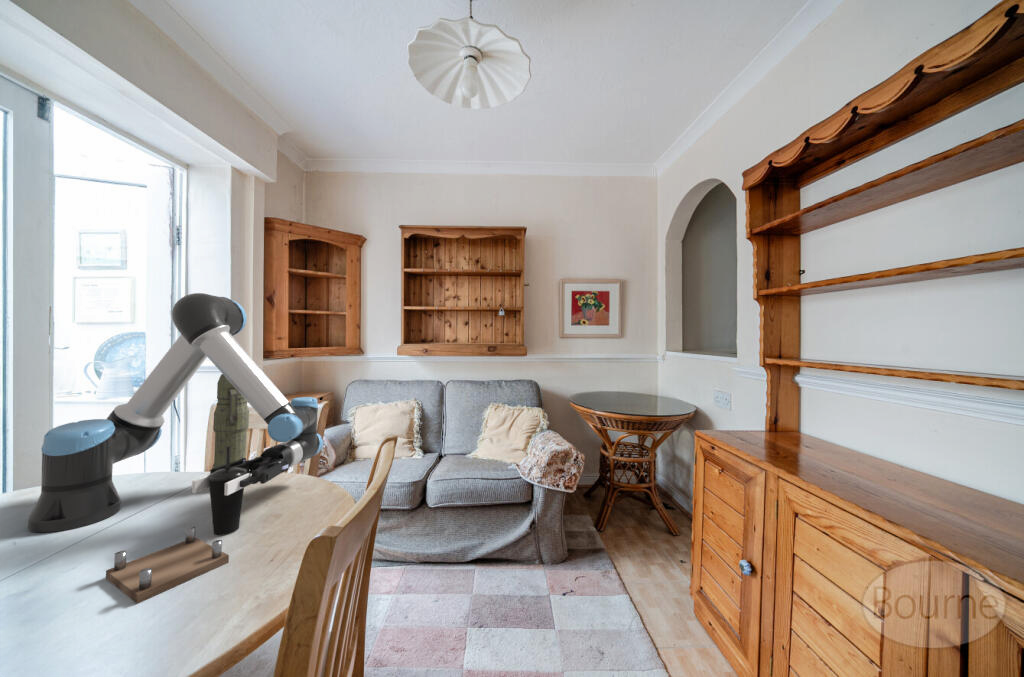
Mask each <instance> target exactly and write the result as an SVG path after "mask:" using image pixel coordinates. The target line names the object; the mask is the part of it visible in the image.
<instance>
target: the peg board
mask: <svg viewBox="0 0 1024 677" xmlns="http://www.w3.org/2000/svg"><path fill="white" fill-rule="evenodd" d="M127 553H128V552H127V550H120V551H117V552H116V553H114V558H113V559H114V564H113V567H112V568H108V569H106V570H105V579H106V580H107V581H109V582H110V583H111V584H112V585H113V586H115V587H116V588H117V589H118V590H120V591H121V592H122V593H123V594H125V595H126V596H127V597H128V598H130V600H132V602H135V603H136V604H137V605H138V604H140V603H142V602H145V601H146V600H147V601H148V599H150V598H153V597H155V596H158V595H160V594H162V593H163V592H166V591H168V590H170V589H173V588H176V587H177V586H180V585H182V584H184V583H187V582H188V581H191V580H193V579H195V578H197V577H199V576H202V575H204V574H206V573H208V572H210V571H213V570H215V569H217V568H219V567H222V566H223V565H226V564H228V563H229V559H230V555H229V554H228V553H226V552H224V551H223V539H216V540H214V541H212V542H211V545H210V544H208V543H207V542H205V541H203V540H201V539H199V538H198V537H196V526H194V525H193V526H188V527H187V528H185V539H184V540H183V541H181V542H179V543H175V544H172V545H169V546H168V547H165V548H162V549H160V550H157V551H155V552H151V553H148V554H147V555H146V554H145V555H143V556H141V557H139V558H135V559H133V560H130V561H127Z"/></svg>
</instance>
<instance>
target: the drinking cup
mask: <svg viewBox="0 0 1024 677" xmlns="http://www.w3.org/2000/svg"><path fill="white" fill-rule="evenodd" d="M209 474H210V473H209ZM209 474H207V475H208V477H207V479H208V480H209V487H208V488H209V496H210V498H209V499H210V508H211V519H212V529H213V530H212V531H213V535H214V536H225V535H229V534H232V533H234V532H236V531H238V530H239V528H240V522H241V514H242V507H243V506H242V505H243V498H244V490H245V487H244V488H242V489H240V490H238V491H236V492H234V493H232V494H230V495H228V496H227V495H224V492H225V483H227V482H229V481H231V480H234V479H236V478H238V477H240V476H243V475H245V474H247V470H246V469H244V468H239V467H230V447H227V452H226V468H223V469H220V470H218V471H216V472H214V473H212V474H210V475H209Z"/></svg>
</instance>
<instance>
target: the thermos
mask: <svg viewBox="0 0 1024 677" xmlns="http://www.w3.org/2000/svg"><path fill="white" fill-rule="evenodd" d="M216 386H217V389H216V390H217V391H216V399H217V403H216V408H215V410H214V412H213V431H214V433H215V435H214V454H213V455H214V458H213V459H214V460H213V461H214V462H213V464H212V467H211V469H214V468H217V467H220V466H223V465H226V452H227V447H230V463H232V462H235V461H238V460H240V459H242V458H246V459H247V437H248V436H247V435H248V434H247V432H248V431H247V430H248V428H249V425H250V409H249V407H248V402H247V401H246V399H245V398H244V397H243V396H242V395H241V394H240V393H239V392H238V390H237V389H236V388H235V387H234V386H233V385H232V384H231V383H230V382H229V380H228V379H227V378H226V377H225V376H224V375H223V374H222V373H221V374H220V376H219V378H218V381H217V385H216Z"/></svg>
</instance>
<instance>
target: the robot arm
mask: <svg viewBox="0 0 1024 677" xmlns="http://www.w3.org/2000/svg"><path fill="white" fill-rule="evenodd" d="M245 310H246V309H244V307H243V306H242V305H241V304H240V303H239V302H237V301H235V300H233V299H230V298H228V297H225V296H217V295H212V294H208V293H201V292H197V293H196V292H195V293H189V294H187V295H184V296H182V297H180V298H179V299H178V300H177V301H176V302H175V304H174V305H173V307H172V310H171V318H172V322H173V324H174V326H175V328H176V329H177V331H178V332H179V334H180V335H179V337H178V338H177V339H176V340H175V342H174V343H173V344H172V345H171V346H170V348H169V349H168V351H167V352H165V354H164V355H163V356H162V358H161V359H160V361H159V362H158V363H157V364H156V366H155V367H154V368H153V370H151V372H150V373H149V375H147V377H146V379H145V380H144V382H142V384H141V385H140V386H139V387H138V389H137V390H136V391H135V393H134V394H133V395H132V397H131V398H130V399H129V401H128V402H126V403H121V404H119V405H116V406H115V407H114V409H113V410H112V411H111V413H109V415H108V416H107V418H105V419H104V418H98V419H96V418H94V419H84V420H79V421H77V422H75V421H73V422H67V423H65V424H61V425H58V426H56V427H52V428H51V429H50V430H48V431H47V432H46V433H45V434H44V437H43V441H42V443H43V444H42V445H41V452H42V453H41V455H42V456H41V487H40V495H39V498H38V499H37V501H36V503H35V505H34V507H33V509H32V511H31V513H30V515H29V517H28V521H27V529H28V531H29V530H30V531H29V532H32V533H52V532H60V531H65V530H66V531H67V530H71V529H76V528H80V527H84V526H87V525H92V524H94V523H95V524H96V523H97V522H100V521H103V520H105V519H108V518H109V517H112V516H114V515H116V514H117V513H118V512H119V511H120V510H121V509H122V507H121V506H122V505H121V504H122V501H121V500H122V499H121V497H120V495H119V492H118V491H117V488H116V486H115V484H114V482H113V468H114V467H113V465H115V463H119V462H121V461H125V460H127V459H129V458H132V457H135V456H138V455H140V454H143V453H144V452H146V451H147V450H150V449H151V448H152V447H154V446H155V444H156V443H157V442H158V441H159V439H160V438H161V436H162V430H163V429H162V426H163V425H164V423H165V418H164V416H163V415H164V414H165V413H166V412H167V410H168V409H169V407H170V406H171V405H172V404H173V402H174V401H175V400H176V399H177V397H178V396H179V394H180V393H181V392H182V390H184V388H185V387H186V385H187V384H188V383H189V381H190V380H191V379H192V377H193V376H194V375H195V373H196V372H197V371H198V369H199V368H200V367H201V366H202V364H203V363H204V362H205V360H206V359H207V358H208V359H209V361H210V362H211V363H212V364H213V365H214V366H215V368H217V370H218V371H220V373H221V374H223V375H224V376H225V377H226V378H227V379H228V380H229V382H230V383H231V384H232V385H233V386H234V387H235V388H236V389H237V390H238V392H239V393H240V394H241V395H242V396H243V397H244V398H245V399H246V401H247V404H249V405H250V406H251V407H252V408H253V409H254V411H255V412H256V413H257V414H258V415H259V417H261V418H262V419H263V421H264V422H265V423H266V424H267V433H268V436H269V437H270V439H272V440H273V441H274V442H278V444H276V445H274V446H271V447H268V448H266V449H265V450H263V452H262V453H261V454H260V456H256V457H254V458H252V459H249V460H247V457H246V458H242V459H240V460H238V461H235V462H232V463H230V467H239V468H244V469H246V470H247V474H245V475H243V476H240V477H238V478H236V479H234V480H231V481H229V482H227V483H225V492H224V495H227V496H228V495H230V494H232V493H234V492H236V491H238V490H240V489H242V488H244V489H245V488H246V487H249V486H251V485H257V484H258V483H260V485H261V484H263V485H264V484H266V483H268V482H269V481H271V480H273V479H274V478H276V477H277V476H279V475H281V474H282V473H285V472H288V471H289V469H290V468H291V467H293V466H296V465H298V464H300V463H302V462H304V461H306V460H309V459H311V458H313V457H315V456H316V455H318V454H319V453H320V452H321V451H322V449H323V447H324V439H323V437H322V436H321V435H320V434H319V433H318V411H319V406H318V405H319V404H318V399H317V398H316V397H313V396H302V397H295V398H292V399H291V400H290V401H289V400H288V398H287V397H286V396H285V395H284V394H283V393H282V391H280V389H279V388H278V387H277V385H276V384H274V382H273V381H272V380H271V379H270V378H269V376H267V374H266V373H265V372H264V371H263V370H262V369H261V367H260V366H259V365H258V364H257V362H255V360H254V359H253V358H252V357H251V356H250V355H249V353H247V351H246V350H245V349H244V348H243V347H242V345H241V344H240V343H239V342H238V340H236V339H235V337H233V336H235V335H238V334H239V333H240V332H242V331H243V330H244V328H245V326H246V324H247V321H248V320H247V318H248V317H247V313H246V311H245ZM223 468H226V465H223V466H220V467H217V468H214V469H212V468H210V470H209V474H207V475H205V476H202V477H200V478H197V479H195V480H192V483H191V493H192V494H196V493H199V492H201V491H204V490H205V489H208V488H210V487H209V480H208V479H207V477H208V475H210V474H212V473H214V472H216V471H218V470H220V469H223Z"/></svg>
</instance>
